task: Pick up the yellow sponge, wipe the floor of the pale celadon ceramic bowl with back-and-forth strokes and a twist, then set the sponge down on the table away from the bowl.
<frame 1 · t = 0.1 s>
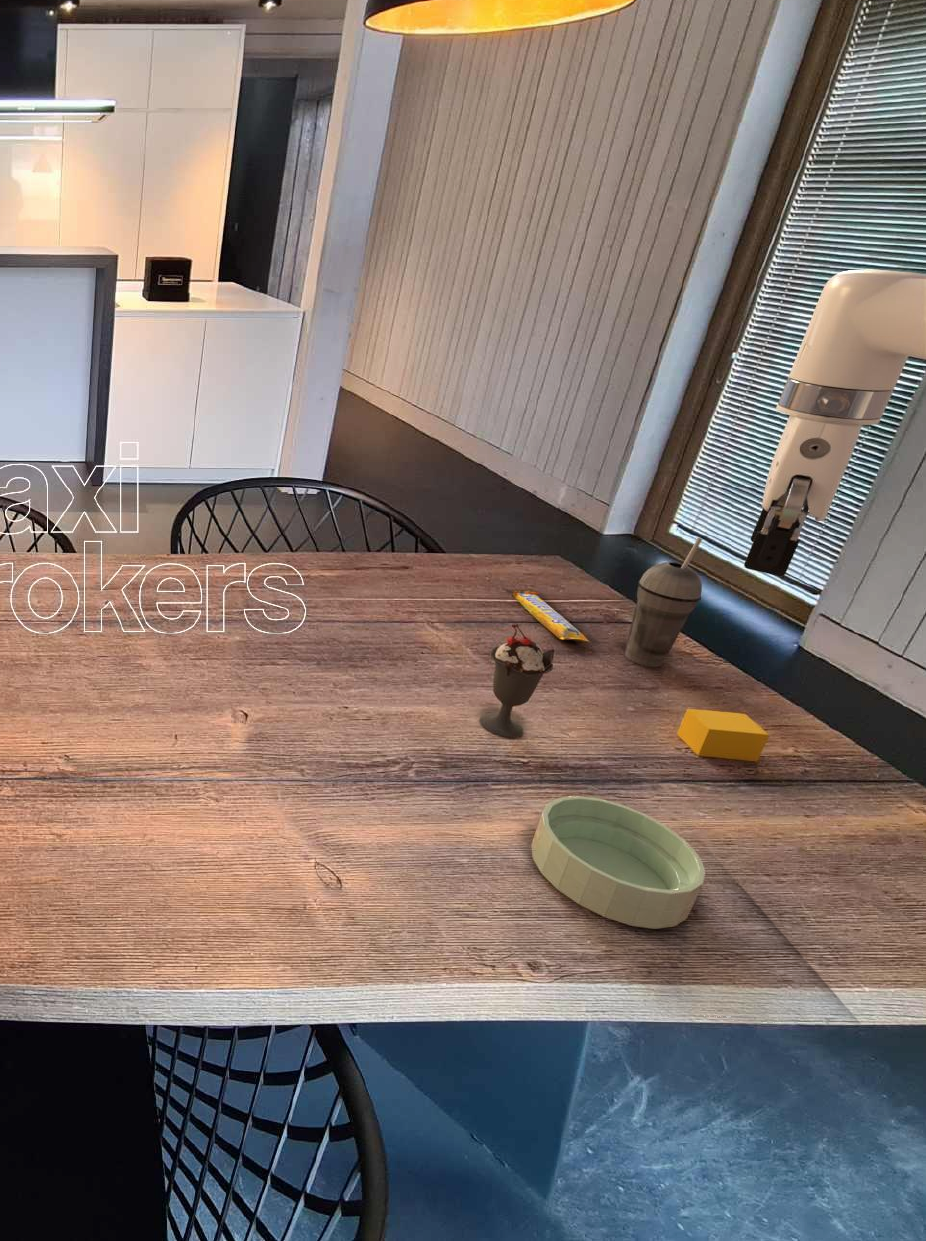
hand: (766, 557, 88), 28 cm above the table, tool pointing down, fingers open, 9 cm apart
sponge: (715, 747, 102), on the table
sundae: (500, 727, 106), on the table
bowl: (605, 879, 82), on the table
candy bar: (546, 622, 132), on the table
beverage cup: (642, 660, 122), on the table
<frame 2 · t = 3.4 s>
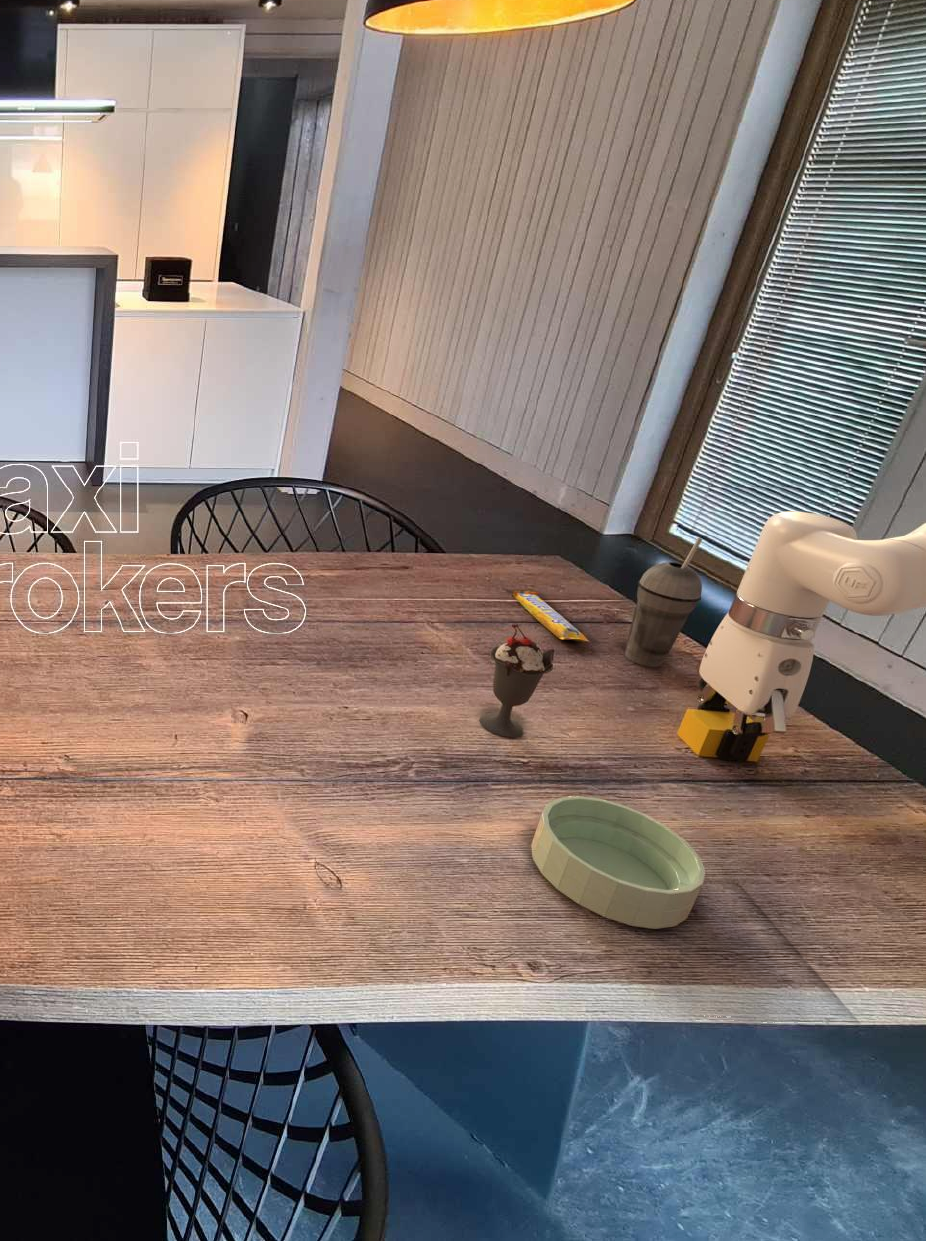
hand: (717, 744, 102), 1 cm above the table, tool pointing down, fingers closed on sponge, 4 cm apart
sponge: (715, 747, 102), on the table, touching gripper
everything else where it was.
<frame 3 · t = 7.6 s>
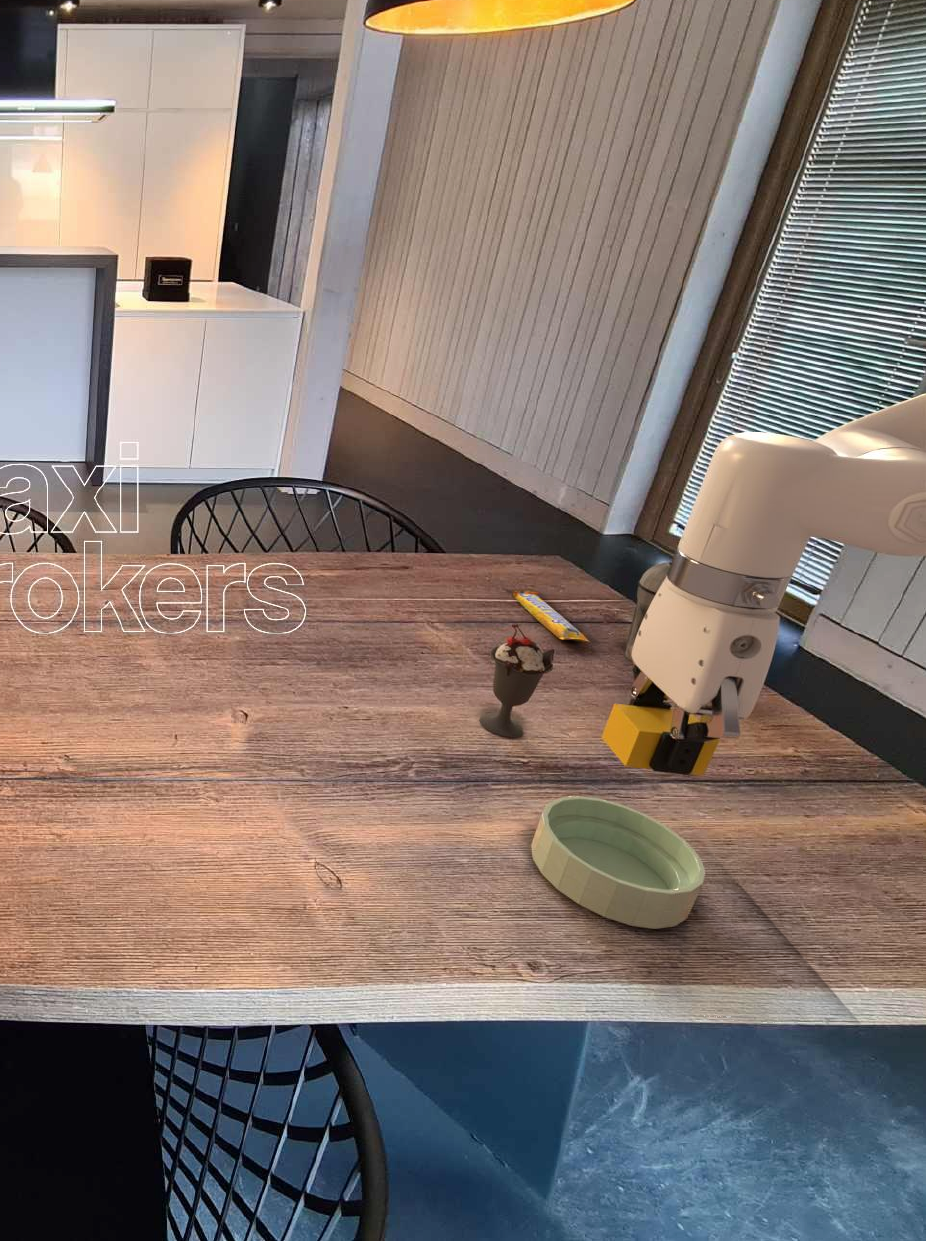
hand: (653, 751, 76), 16 cm above the table, tool pointing down, fingers closed on sponge, 4 cm apart
sponge: (650, 756, 77), point 15 cm above the table, touching gripper
everything else where it was.
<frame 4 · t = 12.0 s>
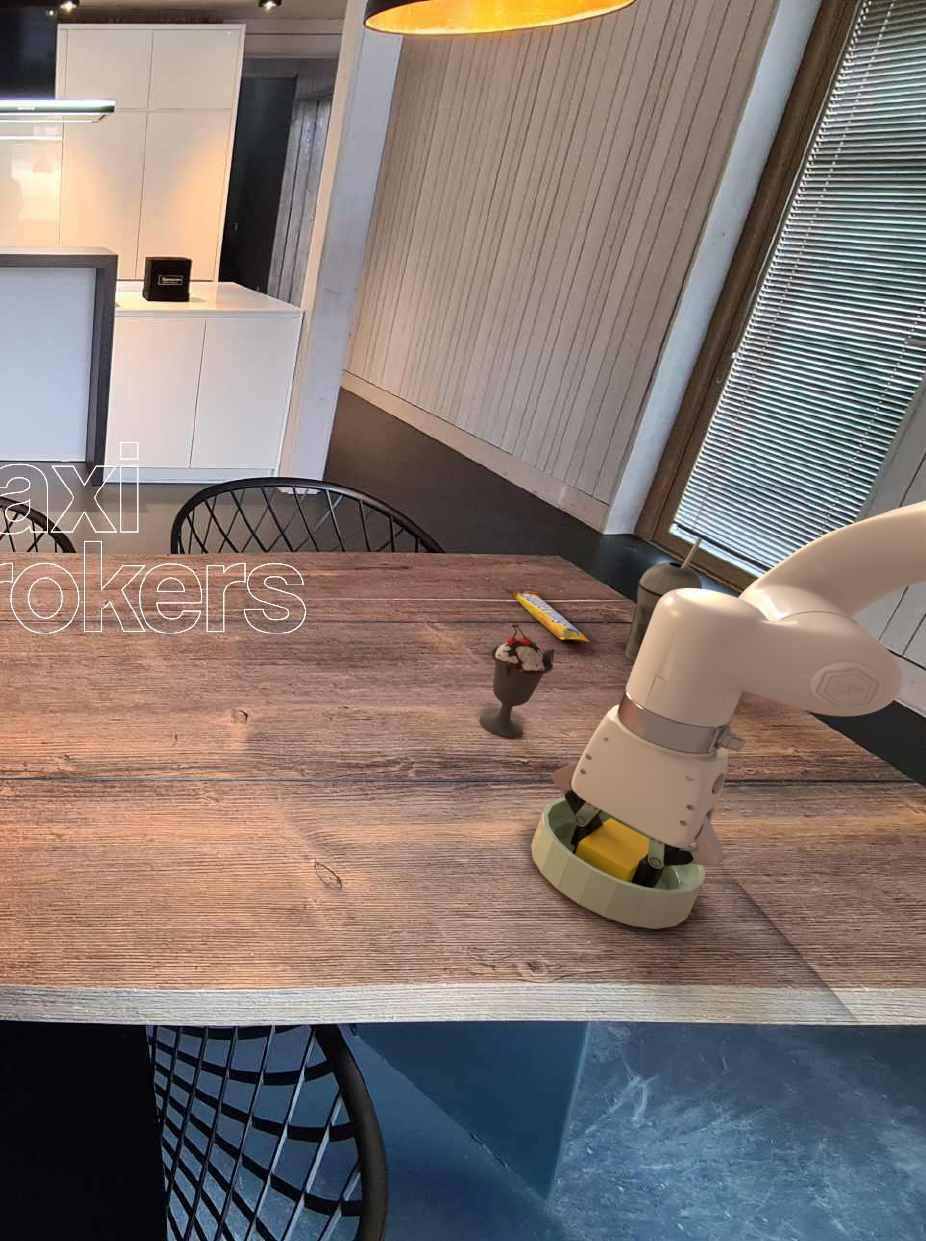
hand: (609, 869, 82), 1 cm above the table, tool pointing down, fingers closed on sponge, 4 cm apart
sponge: (607, 874, 82), point 1 cm above the table, touching gripper
everything else where it was.
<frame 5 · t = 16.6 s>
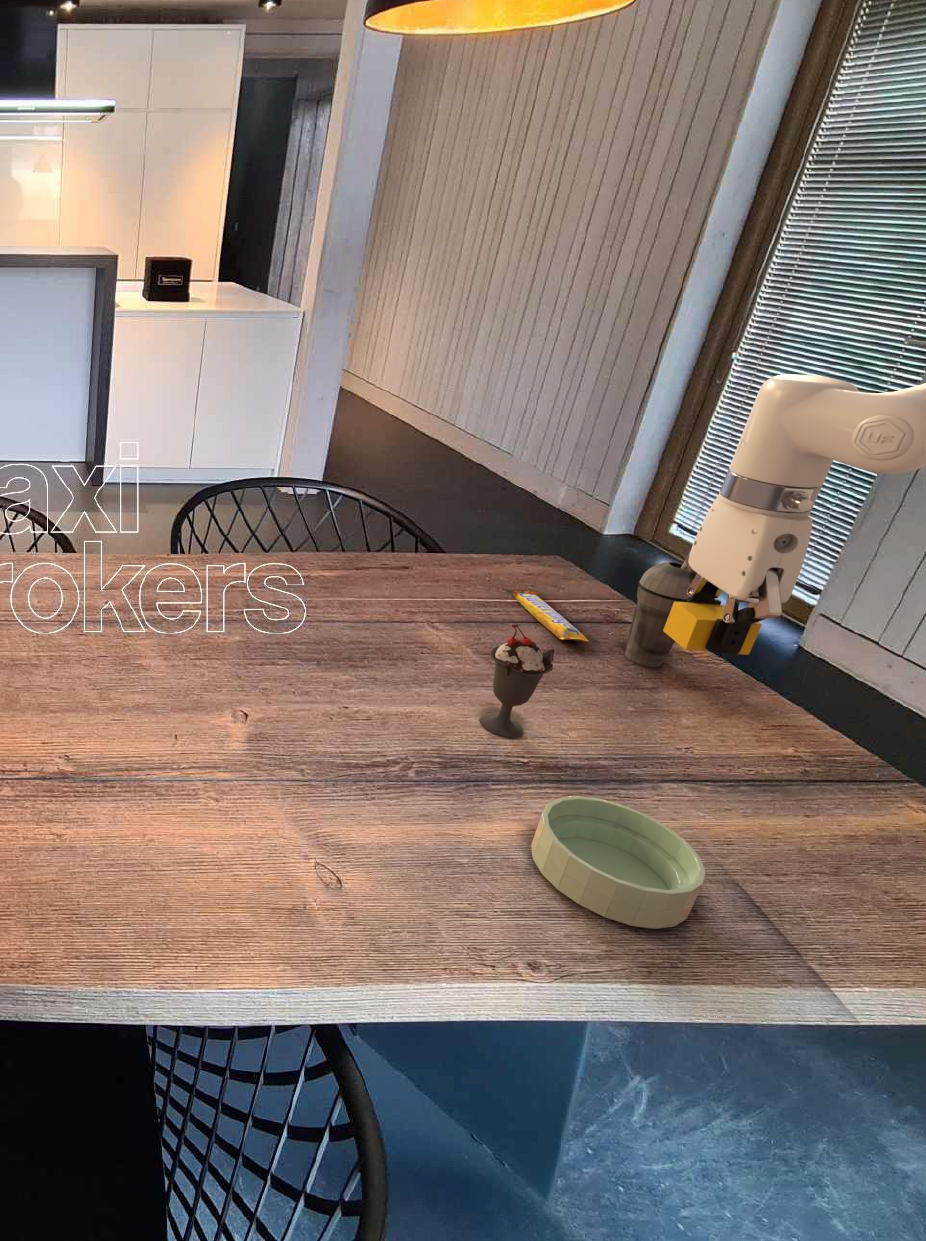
hand: (707, 638, 95), 16 cm above the table, tool pointing down, fingers closed on sponge, 4 cm apart
sponge: (704, 642, 95), point 16 cm above the table, touching gripper
everything else where it was.
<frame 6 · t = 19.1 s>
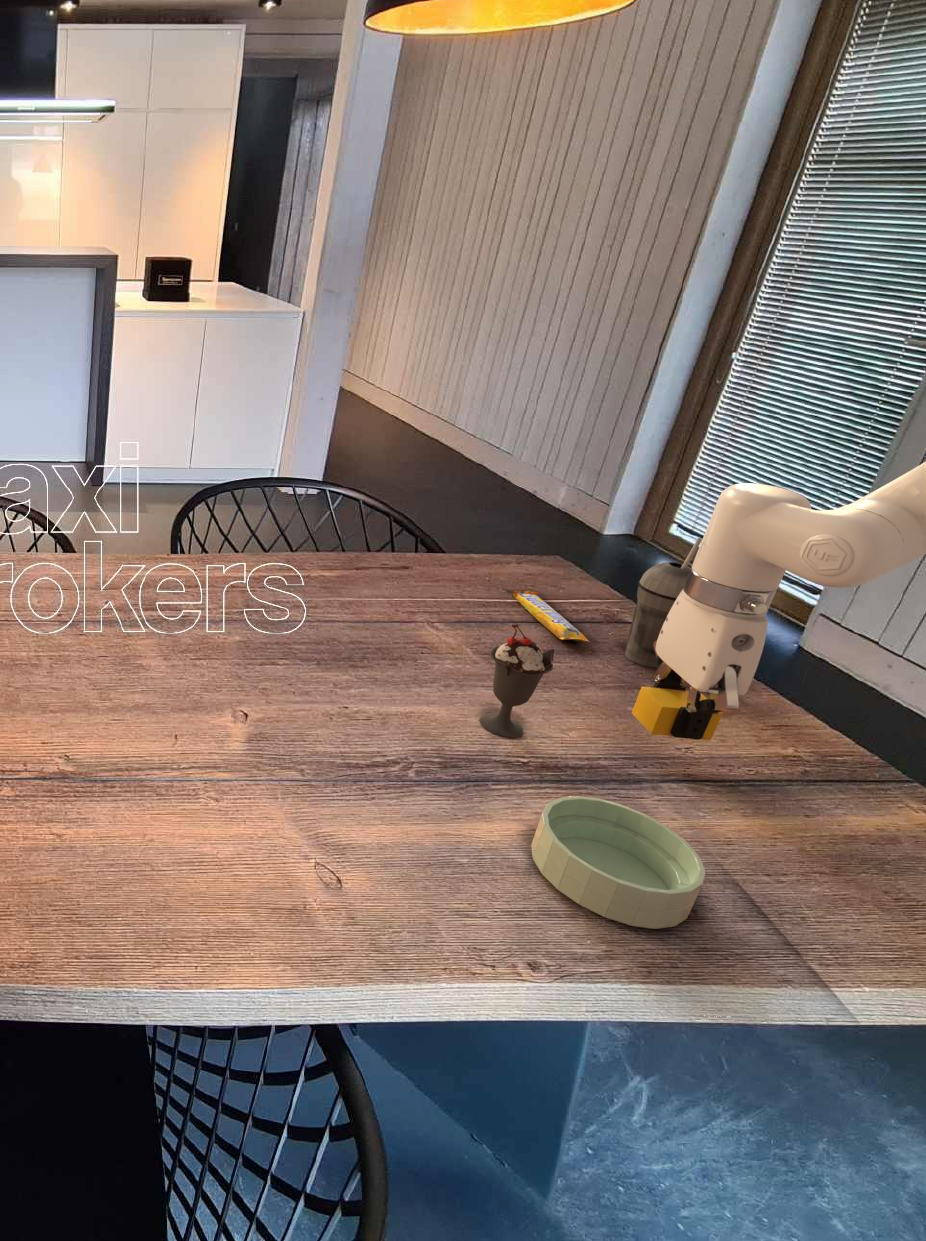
hand: (672, 722, 100), 4 cm above the table, tool pointing down, fingers closed on sponge, 4 cm apart
sponge: (670, 726, 100), point 4 cm above the table, touching gripper
everything else where it was.
when the fingers open (0 cm above the table, at t = 20.5 s): sponge stays where it is, on the table.
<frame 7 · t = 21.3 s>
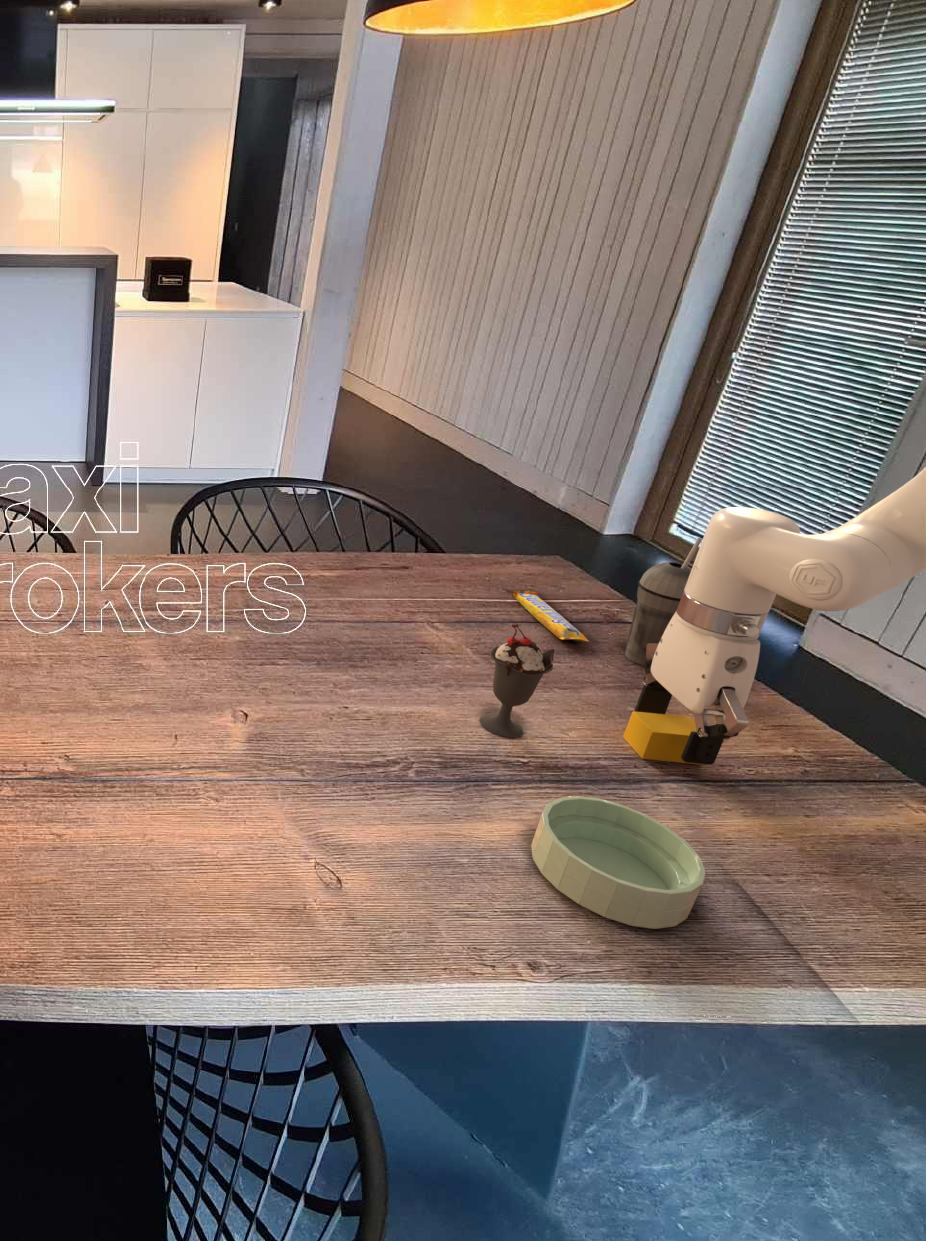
hand: (671, 737, 100), 2 cm above the table, tool pointing down, fingers open, 9 cm apart
sponge: (660, 750, 101), on the table
everything else where it was.
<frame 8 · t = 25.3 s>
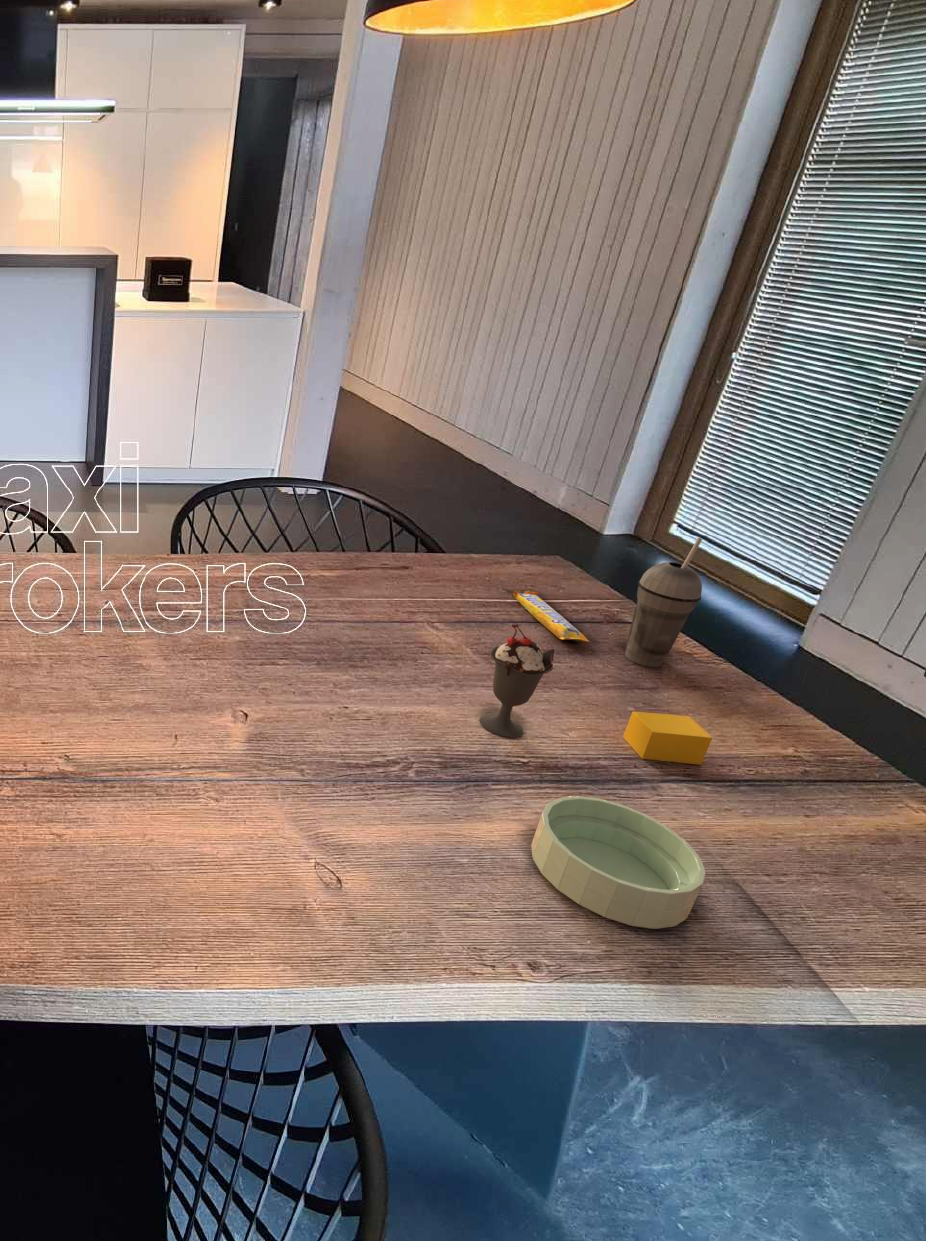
nothing on the table moved.
at the end: the gripper is holding nothing; sponge tilted 0° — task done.
